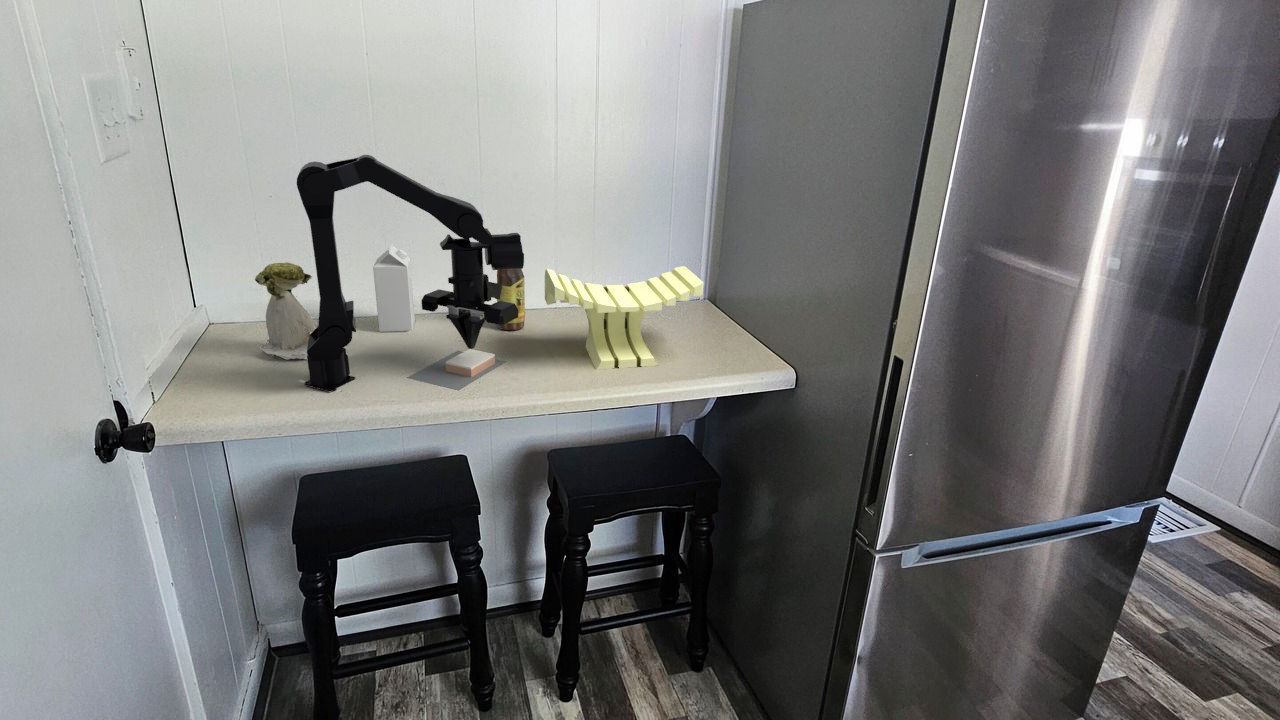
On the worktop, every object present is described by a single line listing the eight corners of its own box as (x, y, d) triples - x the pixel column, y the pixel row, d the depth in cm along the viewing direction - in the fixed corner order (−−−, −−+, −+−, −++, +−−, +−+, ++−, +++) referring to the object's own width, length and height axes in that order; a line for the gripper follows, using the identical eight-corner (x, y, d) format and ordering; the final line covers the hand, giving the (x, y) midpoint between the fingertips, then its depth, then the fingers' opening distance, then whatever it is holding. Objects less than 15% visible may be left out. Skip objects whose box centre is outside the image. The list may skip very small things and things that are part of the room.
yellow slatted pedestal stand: (675, 337, 164) (680, 262, 157) (697, 364, 150) (703, 282, 143) (544, 343, 157) (544, 264, 150) (554, 372, 143) (554, 286, 136)
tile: (445, 371, 139) (471, 377, 137) (445, 361, 139) (471, 367, 137) (470, 357, 146) (495, 363, 144) (469, 348, 146) (494, 354, 143)
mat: (458, 392, 132) (458, 390, 132) (406, 379, 136) (406, 377, 136) (506, 363, 146) (506, 361, 145) (458, 352, 150) (457, 350, 150)
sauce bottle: (522, 332, 163) (521, 246, 155) (495, 331, 163) (492, 245, 155) (527, 322, 169) (526, 240, 161) (500, 321, 169) (498, 238, 161)
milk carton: (379, 332, 158) (370, 248, 151) (383, 322, 165) (375, 241, 157) (412, 331, 160) (405, 248, 153) (415, 321, 166) (408, 240, 159)
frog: (282, 367, 139) (268, 275, 132) (249, 350, 146) (234, 262, 139) (339, 350, 148) (328, 264, 141) (305, 335, 155) (293, 252, 148)
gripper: (532, 268, 138) (533, 343, 144) (453, 255, 144) (457, 328, 150) (500, 282, 128) (503, 362, 134) (416, 267, 135) (422, 344, 141)
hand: (471, 348), depth 140 cm, fingers closed
